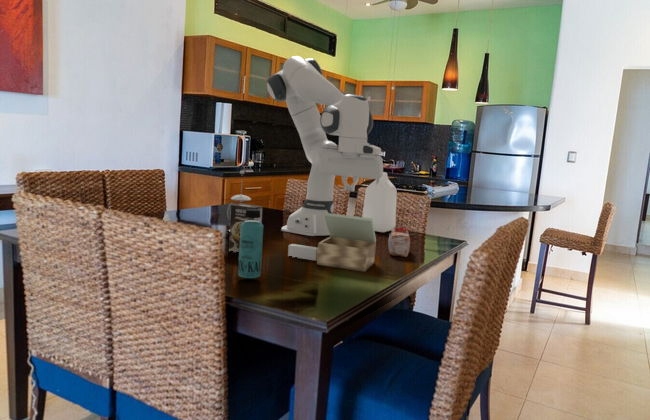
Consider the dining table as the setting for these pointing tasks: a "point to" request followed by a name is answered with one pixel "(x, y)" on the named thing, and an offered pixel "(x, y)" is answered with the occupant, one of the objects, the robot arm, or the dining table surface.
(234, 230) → the coffee box
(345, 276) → the dining table surface
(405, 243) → the food item
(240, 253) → the beverage bottle
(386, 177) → the milk
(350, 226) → the lid
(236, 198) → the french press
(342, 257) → the box
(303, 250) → the white rectangular block
